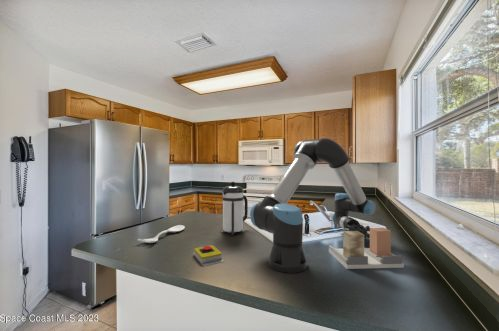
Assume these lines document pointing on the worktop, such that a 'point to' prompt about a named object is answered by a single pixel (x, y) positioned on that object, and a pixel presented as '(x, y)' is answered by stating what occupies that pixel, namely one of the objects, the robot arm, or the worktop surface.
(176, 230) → the spoon
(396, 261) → the base
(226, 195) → the coffee press
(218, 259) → the emergency button
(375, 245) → the terracotta slider
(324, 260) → the worktop surface
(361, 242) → the maple slider
